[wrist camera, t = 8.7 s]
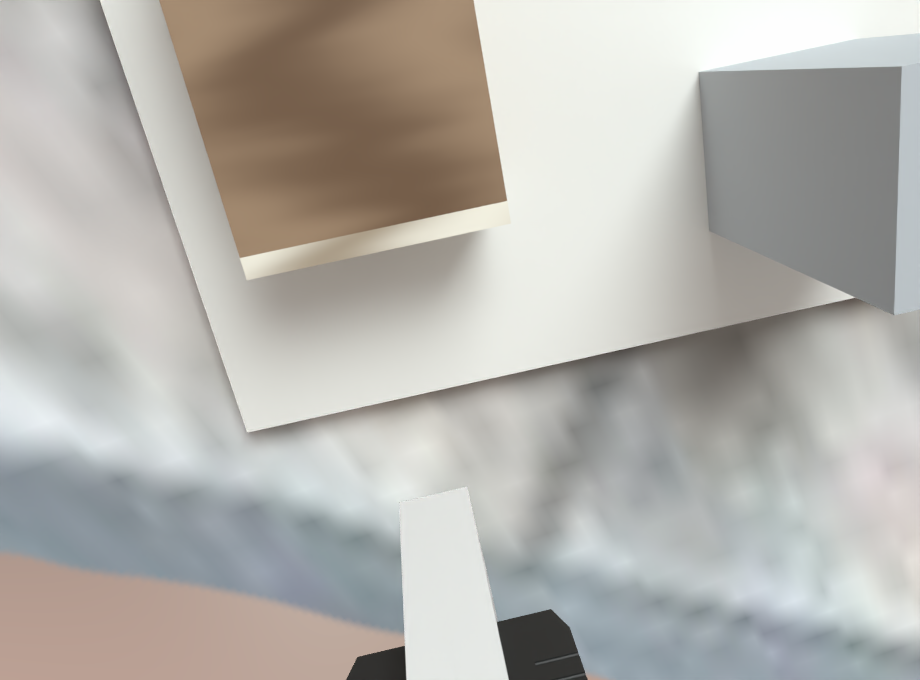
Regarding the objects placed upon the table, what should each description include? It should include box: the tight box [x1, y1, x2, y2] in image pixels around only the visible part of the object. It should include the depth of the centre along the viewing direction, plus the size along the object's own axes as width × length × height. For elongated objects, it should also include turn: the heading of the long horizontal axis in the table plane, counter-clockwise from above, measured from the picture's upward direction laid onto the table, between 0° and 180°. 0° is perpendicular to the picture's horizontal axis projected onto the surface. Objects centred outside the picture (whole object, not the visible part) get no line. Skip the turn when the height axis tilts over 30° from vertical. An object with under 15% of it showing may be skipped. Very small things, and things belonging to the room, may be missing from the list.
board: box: [100, 0, 920, 433], centre depth 22 cm, size 24×16×1 cm, turn 101°
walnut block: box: [159, 0, 511, 280], centre depth 19 cm, size 7×4×10 cm
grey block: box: [699, 33, 920, 315], centre depth 18 cm, size 5×5×9 cm
